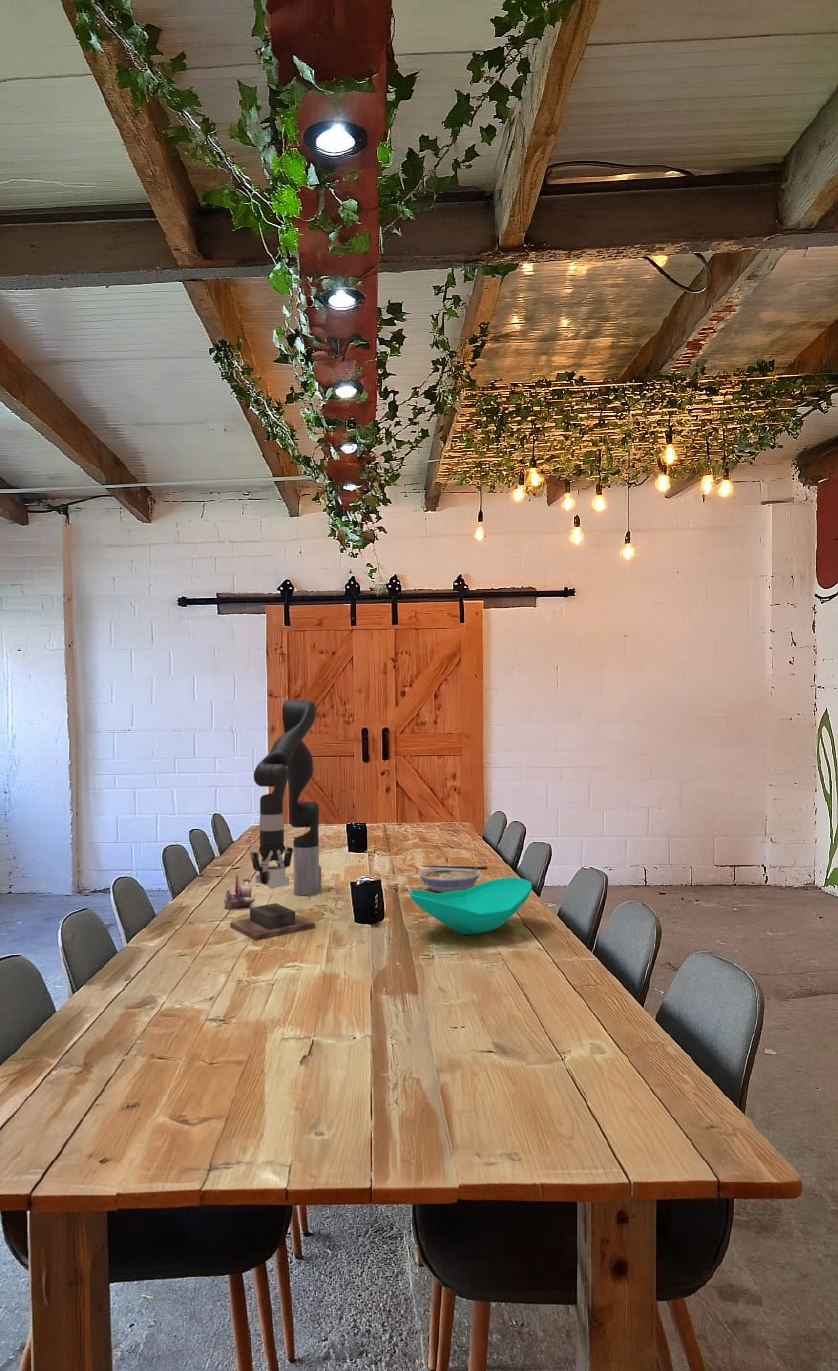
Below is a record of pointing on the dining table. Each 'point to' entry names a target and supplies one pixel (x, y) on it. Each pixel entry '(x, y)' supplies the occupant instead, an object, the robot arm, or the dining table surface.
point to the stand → (271, 922)
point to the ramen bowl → (450, 877)
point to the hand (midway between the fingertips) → (272, 882)
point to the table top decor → (475, 904)
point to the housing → (274, 877)
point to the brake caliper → (239, 896)
